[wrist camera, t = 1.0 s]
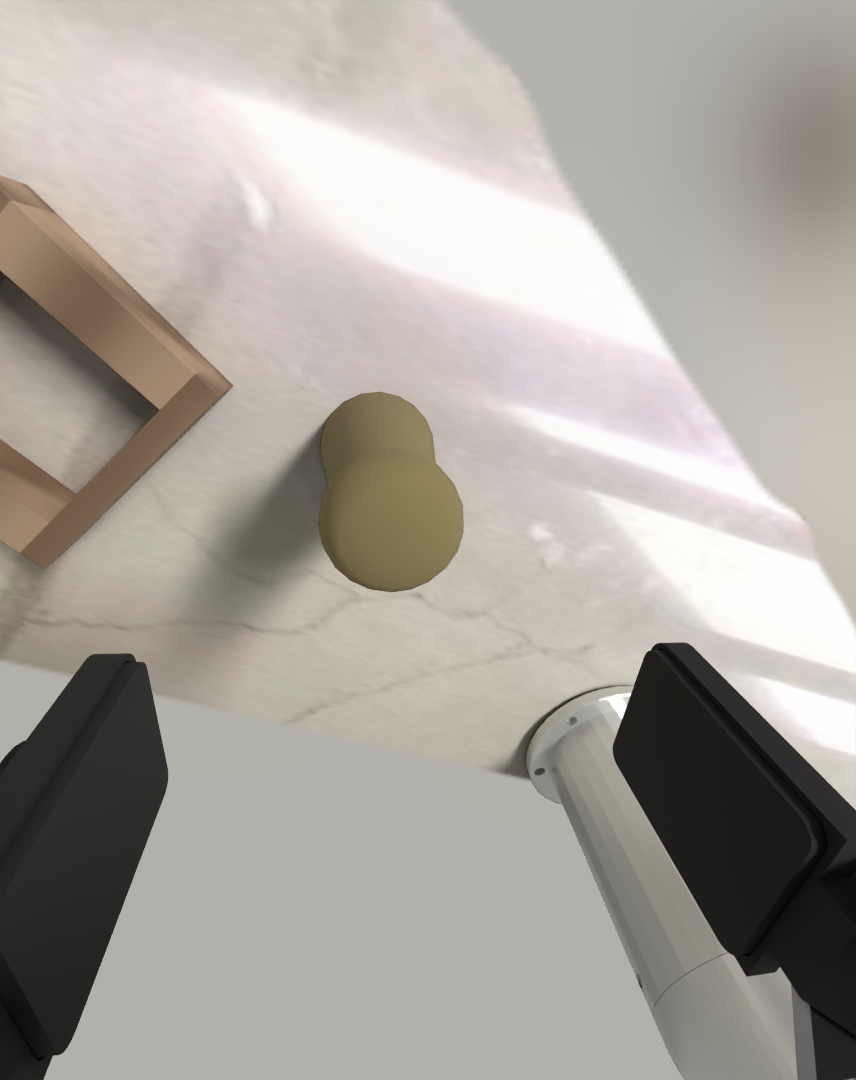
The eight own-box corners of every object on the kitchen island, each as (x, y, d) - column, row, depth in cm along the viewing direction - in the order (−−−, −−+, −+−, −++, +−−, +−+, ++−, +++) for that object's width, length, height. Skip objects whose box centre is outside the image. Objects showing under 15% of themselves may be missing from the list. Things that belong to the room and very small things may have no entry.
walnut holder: (233, 385, 23) (218, 396, 20) (76, 540, 25) (45, 568, 23) (27, 185, 19) (-26, 166, 16) (-140, 392, 21) (-211, 406, 18)
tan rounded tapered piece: (320, 501, 26) (304, 620, 17) (319, 387, 24) (299, 449, 14) (428, 504, 27) (473, 617, 18) (439, 395, 25) (498, 458, 15)
